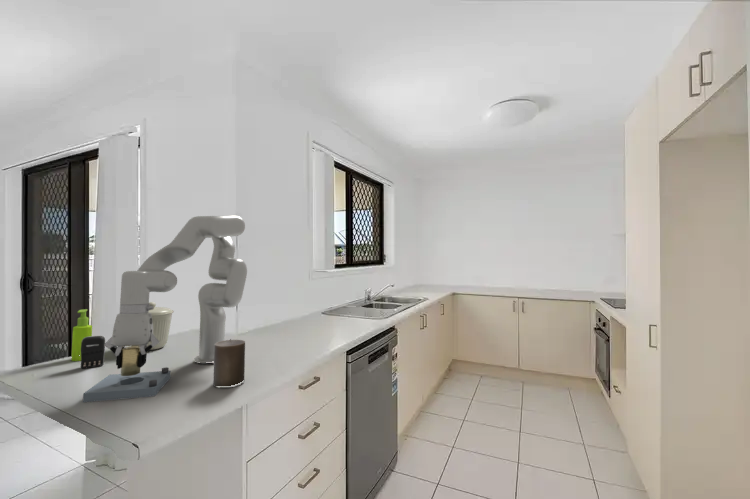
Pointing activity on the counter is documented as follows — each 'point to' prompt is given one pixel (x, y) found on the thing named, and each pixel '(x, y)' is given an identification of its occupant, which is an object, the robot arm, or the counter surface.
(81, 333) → the soap dispenser
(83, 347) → the battery charger
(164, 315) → the canister
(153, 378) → the plate
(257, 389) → the counter surface
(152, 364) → the counter surface
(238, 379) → the pillar candle
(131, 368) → the brass cylinder
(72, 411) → the counter surface
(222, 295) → the robot arm
